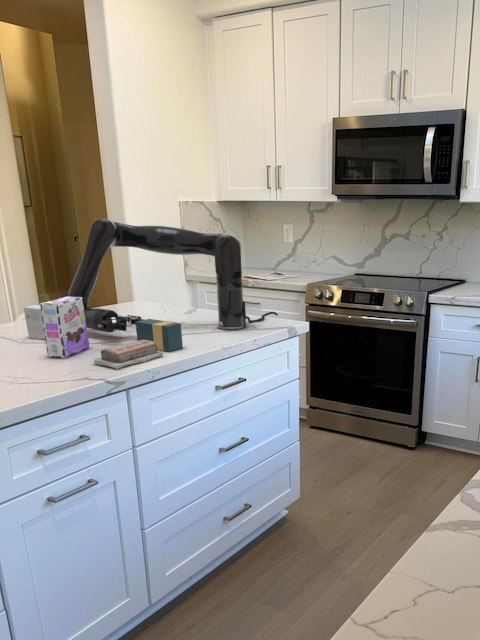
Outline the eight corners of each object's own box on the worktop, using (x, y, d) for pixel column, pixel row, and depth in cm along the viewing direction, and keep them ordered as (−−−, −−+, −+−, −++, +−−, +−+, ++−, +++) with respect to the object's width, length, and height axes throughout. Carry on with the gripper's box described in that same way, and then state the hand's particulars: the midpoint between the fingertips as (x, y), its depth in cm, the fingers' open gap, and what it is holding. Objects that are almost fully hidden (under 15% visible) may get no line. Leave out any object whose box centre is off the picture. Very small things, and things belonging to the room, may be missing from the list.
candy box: (64, 358, 182) (56, 303, 176) (47, 357, 183) (38, 302, 177) (90, 348, 195) (83, 296, 189) (73, 347, 196) (66, 295, 190)
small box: (58, 336, 209) (53, 306, 205) (45, 340, 205) (40, 308, 201) (41, 334, 212) (36, 304, 208) (28, 337, 208) (23, 306, 204)
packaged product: (139, 336, 189) (162, 341, 184) (140, 352, 191) (163, 356, 186) (91, 348, 175) (114, 353, 170) (93, 364, 177) (116, 369, 172)
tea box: (137, 346, 198) (135, 321, 195) (151, 342, 203) (149, 318, 200) (169, 352, 191) (167, 326, 188) (182, 348, 196) (180, 323, 193)
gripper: (83, 312, 201) (117, 317, 193) (117, 305, 212) (150, 310, 204) (86, 334, 203) (119, 340, 196) (119, 327, 215) (152, 332, 207)
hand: (135, 325), depth 200 cm, fingers open, 8 cm apart
